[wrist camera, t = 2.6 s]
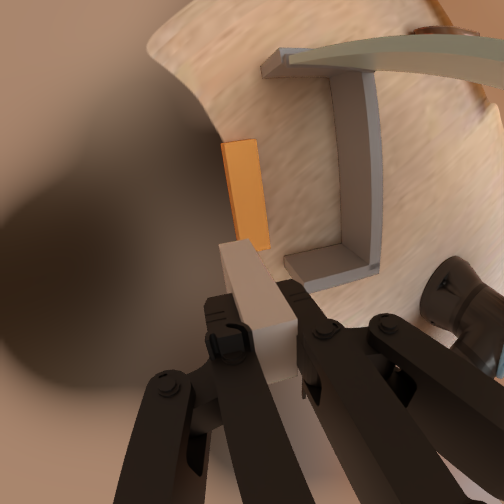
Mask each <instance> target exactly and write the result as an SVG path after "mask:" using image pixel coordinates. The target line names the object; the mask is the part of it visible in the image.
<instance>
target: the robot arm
mask: <svg viewBox="0 0 504 504" xmlns="http://www.w3.org/2000/svg"><path fill="white" fill-rule="evenodd" d="M219 249H220V255H221V261H222V266H223V272H224V278H225V283H226V289H227V293H228V294H224V295H220V296H215V297H210V298H208V299H207V300H206V303H205V305H204V312H205V318H206V325H207V331H208V332H207V333H206V336H205V343H206V347H207V350H208V353H209V356H210V357H209V359H208V360H207V362H206V363H205V364H204V365H203V366H202V367H200V368H199V369H197V370H195V371H193V372H191V373H189V374H187V375H186V374H185V373H183V372H181V371H177V370H166V371H163V372H160V373H158V374H156V375H155V376H154V377H153V378H151V379H150V381H149V383H148V384H147V387H146V390H145V393H144V396H143V399H142V402H141V405H140V409H139V411H138V415H137V418H136V421H135V424H134V428H133V431H132V434H131V438H130V441H129V445H128V448H127V452H126V455H125V459H124V462H123V466H122V470H121V474H120V477H119V481H118V486H117V490H116V494H115V497H114V502H113V504H204V500H205V491H206V479H207V470H208V461H209V451H210V442H211V433H212V430H213V429H215V428H217V427H219V426H221V425H224V430H225V434H226V439H227V443H228V447H229V452H230V455H231V460H232V464H233V468H234V472H235V476H236V479H237V483H238V487H239V490H240V494H241V498H242V502H243V504H315V502H314V499H313V497H312V494H311V492H310V490H309V487H308V485H307V483H306V480H305V478H304V475H303V473H302V471H301V468H300V466H299V463H298V461H297V459H296V456H295V454H294V451H293V449H292V446H291V444H290V441H289V439H288V437H287V434H286V431H285V429H284V426H283V424H282V421H281V418H280V416H279V413H278V411H277V408H276V405H275V403H274V400H273V397H272V395H271V392H270V390H269V387H268V384H271V383H275V382H279V381H283V380H286V379H290V378H293V377H296V376H298V368H299V370H300V373H301V375H302V398H303V399H305V398H306V395H307V397H308V399H309V401H310V403H311V405H312V406H313V409H314V411H315V413H316V415H317V417H318V419H319V421H320V423H321V425H322V427H323V429H324V431H325V433H326V435H327V438H328V440H329V441H330V444H331V445H332V448H333V450H334V452H335V454H336V456H337V458H338V460H339V462H340V464H341V466H342V468H343V470H344V471H345V474H346V476H347V478H348V480H349V481H350V484H351V486H352V488H353V490H354V491H355V494H356V495H357V497H358V499H359V501H360V503H361V504H487V503H485V502H483V501H477V500H472V499H470V498H468V497H467V496H466V495H465V494H464V492H463V490H462V489H461V487H460V486H459V484H458V483H457V481H456V480H455V478H454V477H453V475H452V474H451V472H450V471H449V469H448V468H447V466H446V465H445V463H444V462H443V461H442V459H441V458H440V456H439V455H438V454H437V452H438V453H439V454H440V455H441V456H443V457H444V458H445V459H446V460H448V461H449V462H450V463H451V464H452V465H454V466H455V467H456V468H457V469H459V470H460V471H461V472H462V473H464V474H465V475H466V476H467V477H468V478H470V479H471V480H472V481H473V482H475V483H476V484H477V485H479V486H480V487H481V488H482V489H484V490H485V491H486V492H488V493H489V494H491V495H492V496H494V497H495V498H497V499H499V500H500V501H501V503H502V504H504V386H502V385H501V384H499V383H498V382H497V381H495V380H494V377H497V378H500V379H502V378H503V377H504V297H503V296H502V295H501V294H499V293H498V292H496V291H495V290H494V289H492V288H491V287H489V286H488V285H486V284H485V283H483V282H482V281H481V279H480V278H479V276H478V275H477V274H476V272H475V271H474V270H473V268H472V267H471V266H470V264H469V263H468V262H467V261H465V260H464V259H462V258H460V257H458V256H455V257H451V258H449V259H448V260H446V261H445V262H444V263H442V264H441V265H440V266H439V268H438V269H437V270H436V271H435V273H434V274H433V275H432V277H431V279H430V280H429V282H428V284H427V286H426V288H425V290H424V293H423V296H422V299H421V304H420V312H421V316H422V317H423V318H424V319H425V320H426V321H427V322H428V323H429V324H431V325H434V326H437V327H439V328H442V329H444V330H447V331H450V332H452V333H453V334H454V335H455V336H456V337H457V338H458V339H457V340H456V341H455V343H454V344H453V345H452V346H451V347H450V349H448V348H447V347H445V346H444V345H442V344H441V343H439V342H438V341H436V340H434V339H433V338H431V337H430V336H428V335H427V334H425V333H424V332H422V331H421V330H419V329H418V328H416V327H415V326H413V325H411V324H410V323H408V322H407V321H405V320H404V319H402V318H401V317H399V316H396V315H394V314H388V313H384V314H378V315H376V316H374V317H373V318H372V319H371V320H370V322H369V326H368V327H361V328H345V327H344V326H343V325H342V324H341V323H339V322H338V321H335V320H333V319H327V317H326V316H325V315H324V313H323V312H322V311H321V309H320V308H319V307H318V305H317V304H316V303H315V301H314V300H313V299H312V298H311V296H310V295H309V293H308V292H307V291H306V289H305V288H304V287H303V285H302V284H301V283H299V282H297V281H295V280H293V279H289V280H285V281H280V282H276V283H275V281H274V279H273V278H272V276H271V274H270V273H269V271H268V270H267V268H266V266H265V265H264V263H263V261H262V260H261V258H260V256H259V255H258V253H257V252H256V250H255V248H254V247H253V245H252V243H251V242H250V240H249V239H243V240H238V241H233V242H228V243H223V244H219ZM395 365H397V366H398V367H399V368H397V367H396V366H395ZM436 451H437V452H436Z"/></svg>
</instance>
